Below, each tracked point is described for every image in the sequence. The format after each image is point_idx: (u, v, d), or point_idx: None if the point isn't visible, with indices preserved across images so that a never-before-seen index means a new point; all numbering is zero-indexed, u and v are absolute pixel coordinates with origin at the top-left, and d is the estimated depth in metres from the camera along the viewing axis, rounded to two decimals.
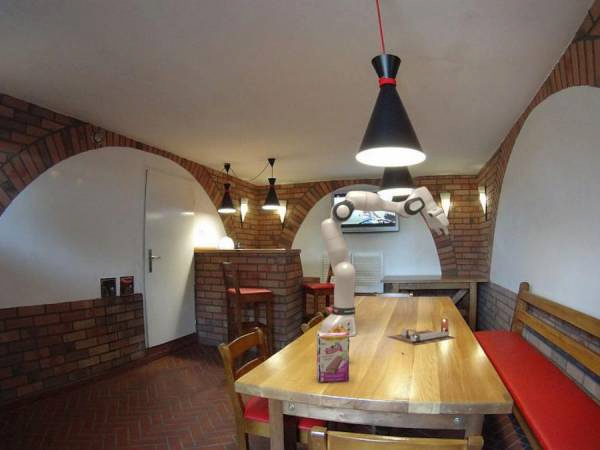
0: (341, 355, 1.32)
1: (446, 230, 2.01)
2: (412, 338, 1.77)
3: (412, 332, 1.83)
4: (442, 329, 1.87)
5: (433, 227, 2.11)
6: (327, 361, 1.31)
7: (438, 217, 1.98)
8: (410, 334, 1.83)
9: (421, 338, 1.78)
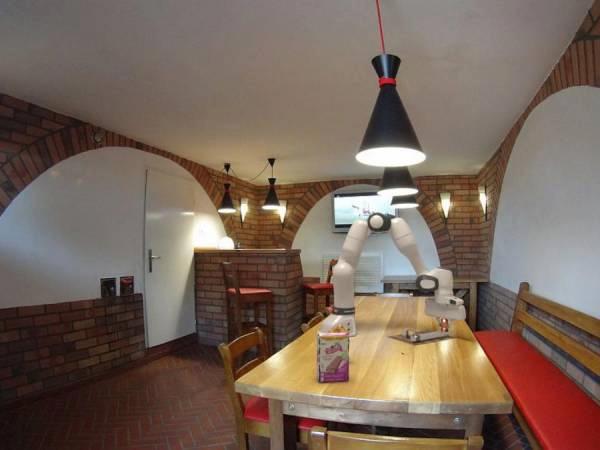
0: (341, 355, 1.32)
1: (451, 323, 1.86)
2: (412, 338, 1.77)
3: (412, 332, 1.83)
4: (442, 329, 1.87)
5: (435, 315, 1.90)
6: (327, 361, 1.31)
7: (461, 308, 1.81)
8: (410, 334, 1.83)
9: (421, 338, 1.78)
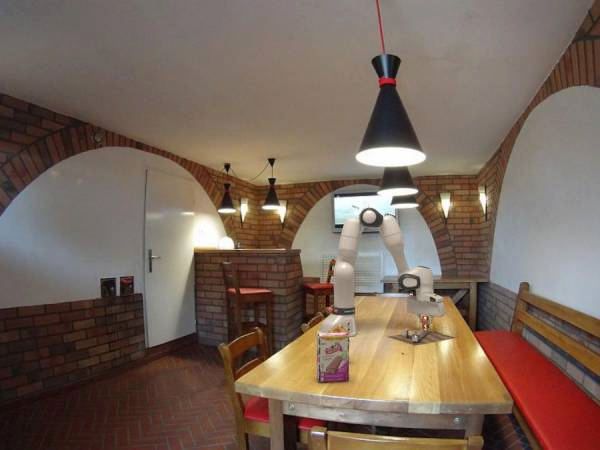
0: (341, 355, 1.32)
1: None
2: (415, 338, 1.76)
3: (412, 332, 1.83)
4: (425, 326, 1.94)
5: (416, 312, 1.98)
6: (327, 361, 1.31)
7: (440, 304, 1.88)
8: (410, 334, 1.83)
9: (419, 337, 1.80)
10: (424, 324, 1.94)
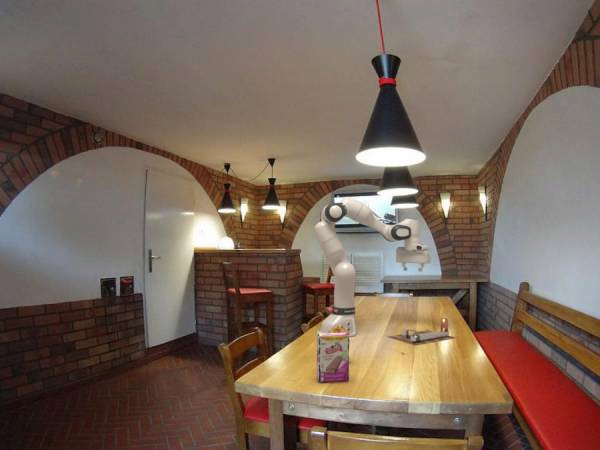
0: (341, 355, 1.32)
1: (422, 267, 2.08)
2: (412, 338, 1.77)
3: (412, 332, 1.83)
4: (442, 329, 1.87)
5: (404, 261, 2.14)
6: (327, 361, 1.31)
7: (426, 252, 2.05)
8: (410, 334, 1.83)
9: (421, 338, 1.78)
10: (441, 327, 1.88)
